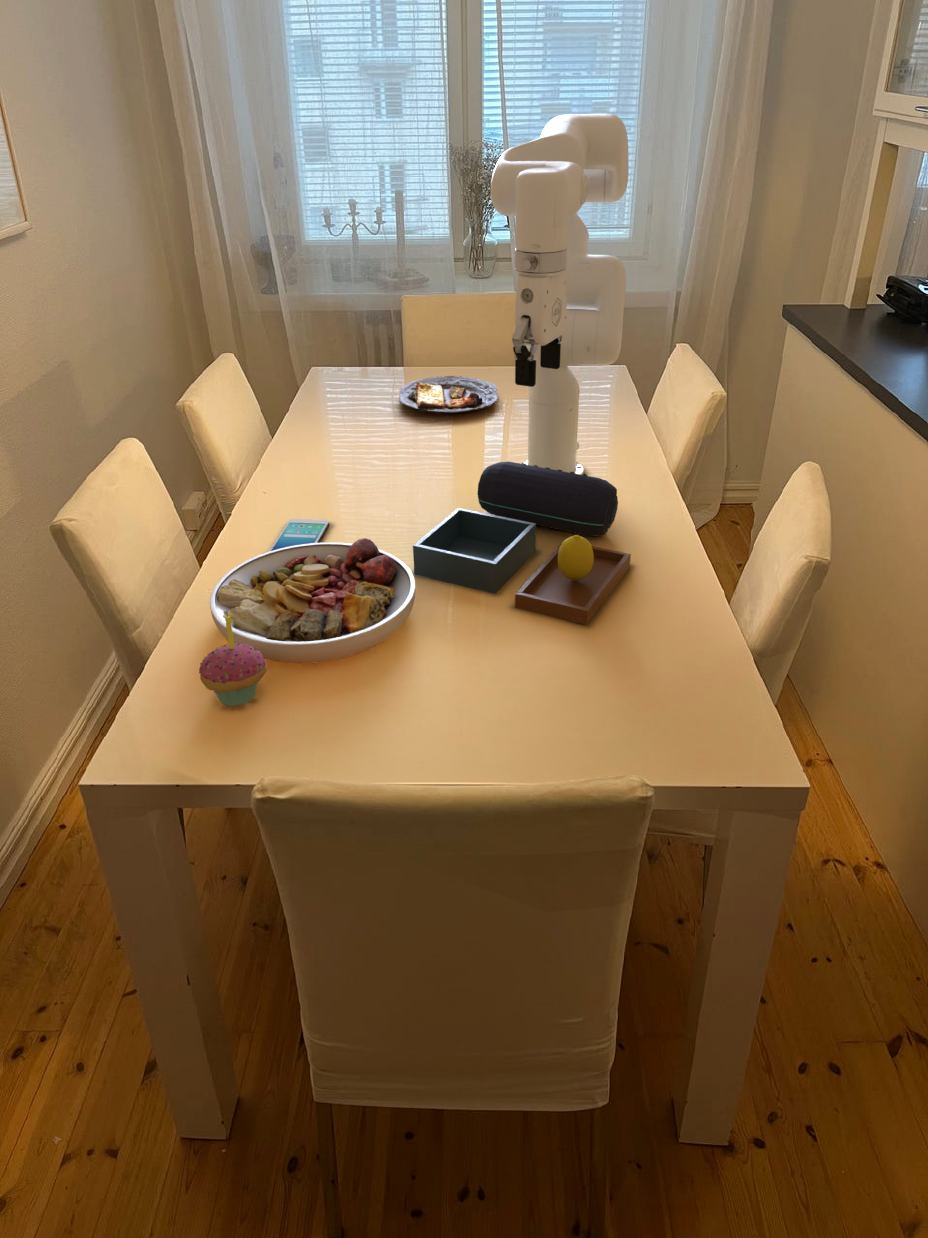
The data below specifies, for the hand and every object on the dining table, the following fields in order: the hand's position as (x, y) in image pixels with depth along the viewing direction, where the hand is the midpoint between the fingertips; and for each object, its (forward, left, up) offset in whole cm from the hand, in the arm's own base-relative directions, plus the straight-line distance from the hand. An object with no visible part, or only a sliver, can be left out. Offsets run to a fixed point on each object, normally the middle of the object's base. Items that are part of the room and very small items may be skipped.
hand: (537, 376), depth 146 cm
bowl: (+38, -19, -28) cm, 51 cm away
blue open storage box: (+13, -5, -28) cm, 31 cm away
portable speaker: (-6, 0, -28) cm, 29 cm away
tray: (+13, +13, -28) cm, 34 cm away
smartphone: (+19, -36, -28) cm, 50 cm away
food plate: (-57, -47, -28) cm, 79 cm away
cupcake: (+59, -17, -28) cm, 68 cm away
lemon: (+13, +13, -28) cm, 33 cm away
